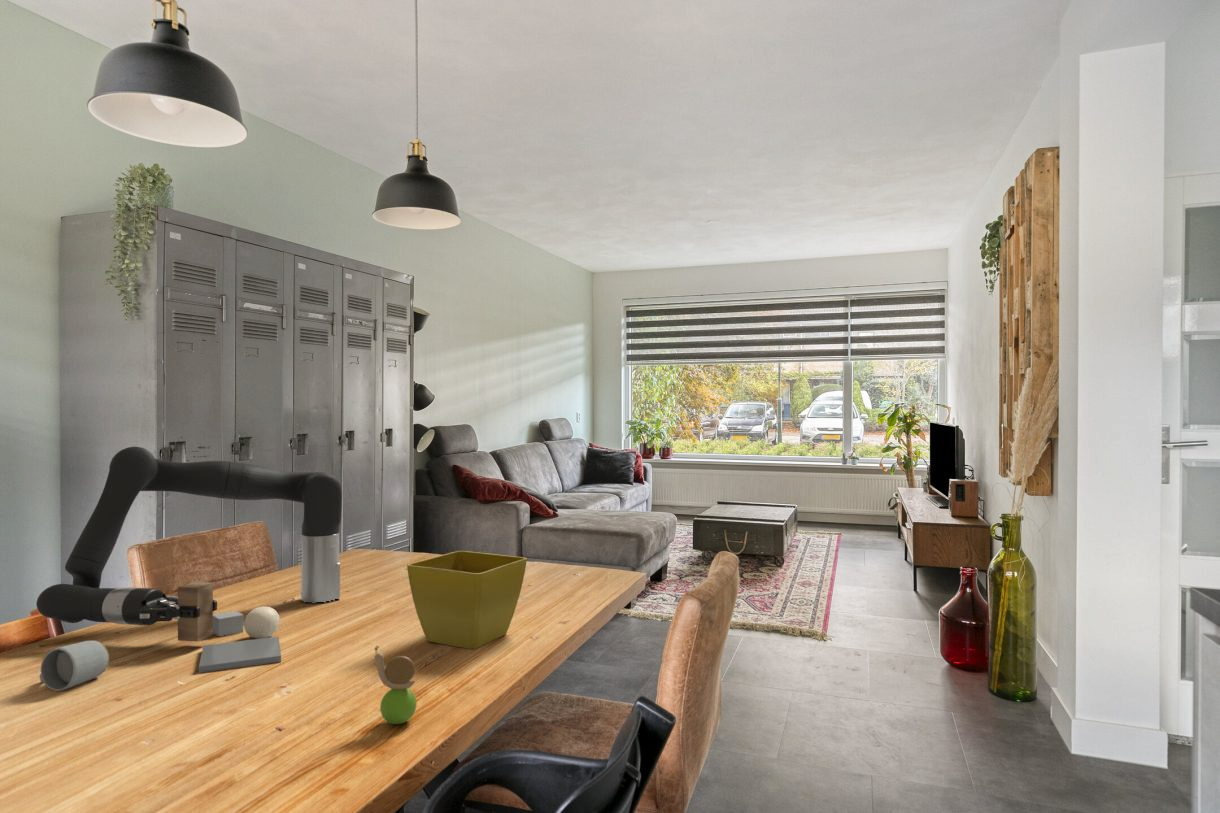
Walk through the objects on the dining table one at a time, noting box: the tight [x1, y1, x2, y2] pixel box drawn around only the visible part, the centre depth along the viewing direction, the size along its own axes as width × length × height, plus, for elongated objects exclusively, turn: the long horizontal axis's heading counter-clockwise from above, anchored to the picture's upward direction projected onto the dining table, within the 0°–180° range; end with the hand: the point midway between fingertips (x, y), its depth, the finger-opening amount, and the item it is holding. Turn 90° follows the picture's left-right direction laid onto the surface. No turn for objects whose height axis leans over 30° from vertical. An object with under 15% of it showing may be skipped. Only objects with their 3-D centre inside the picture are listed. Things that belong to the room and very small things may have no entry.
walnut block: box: [177, 581, 214, 642], centre depth 151 cm, size 4×4×11 cm
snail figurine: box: [374, 645, 417, 725], centre depth 113 cm, size 5×6×12 cm
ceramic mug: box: [38, 640, 110, 692], centre depth 130 cm, size 10×8×7 cm
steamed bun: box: [243, 606, 281, 639], centre depth 157 cm, size 7×7×7 cm
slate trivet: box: [198, 636, 282, 674], centre depth 145 cm, size 14×14×1 cm
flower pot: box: [406, 550, 527, 650], centre depth 157 cm, size 19×19×17 cm
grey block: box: [213, 610, 244, 637], centre depth 161 cm, size 5×5×4 cm
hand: (207, 608), depth 150 cm, fingers closed on walnut block, 4 cm apart
